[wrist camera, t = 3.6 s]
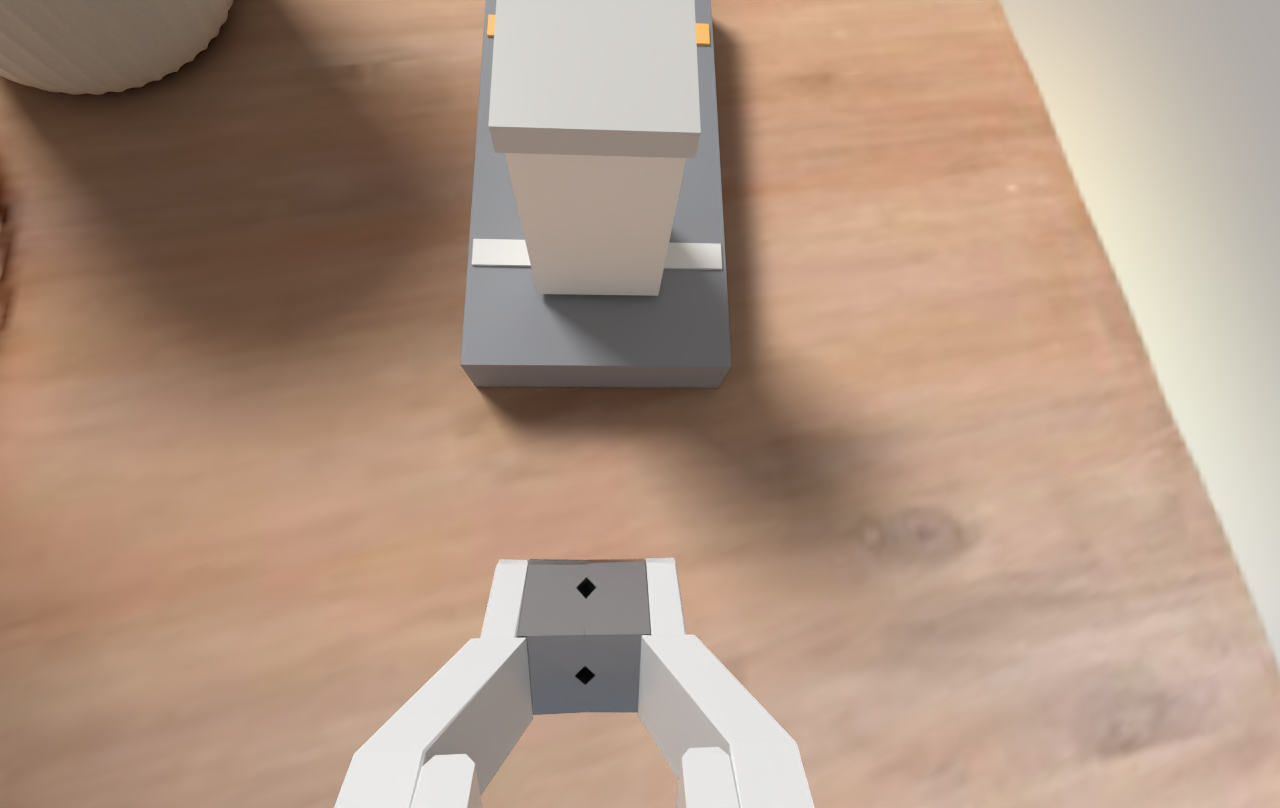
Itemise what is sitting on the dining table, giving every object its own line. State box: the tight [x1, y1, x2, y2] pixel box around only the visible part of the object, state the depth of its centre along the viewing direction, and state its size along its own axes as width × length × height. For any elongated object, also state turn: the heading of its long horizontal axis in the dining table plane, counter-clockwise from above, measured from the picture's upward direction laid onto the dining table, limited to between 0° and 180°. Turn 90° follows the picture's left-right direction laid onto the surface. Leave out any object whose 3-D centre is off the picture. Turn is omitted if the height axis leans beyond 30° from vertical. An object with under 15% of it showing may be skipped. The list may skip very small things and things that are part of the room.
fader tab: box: [488, 0, 701, 296], centre depth 21 cm, size 4×5×10 cm
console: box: [461, 0, 732, 388], centre depth 29 cm, size 22×11×3 cm, turn 1°
